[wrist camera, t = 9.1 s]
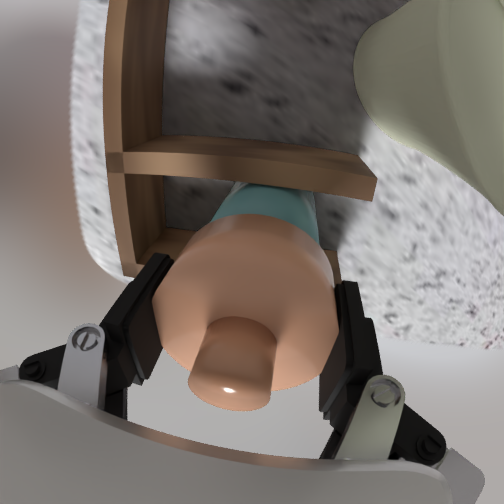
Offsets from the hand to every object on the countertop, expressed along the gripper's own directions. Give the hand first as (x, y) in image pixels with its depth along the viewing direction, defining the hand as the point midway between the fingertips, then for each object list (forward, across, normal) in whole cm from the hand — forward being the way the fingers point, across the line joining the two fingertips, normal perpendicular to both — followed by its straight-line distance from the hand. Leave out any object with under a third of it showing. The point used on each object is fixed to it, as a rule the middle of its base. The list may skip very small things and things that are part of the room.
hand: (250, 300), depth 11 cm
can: (+10, -8, -10) cm, 16 cm away
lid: (+1, 0, 0) cm, 1 cm away
